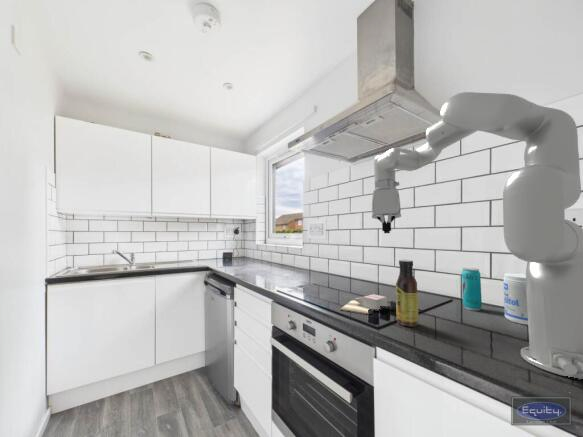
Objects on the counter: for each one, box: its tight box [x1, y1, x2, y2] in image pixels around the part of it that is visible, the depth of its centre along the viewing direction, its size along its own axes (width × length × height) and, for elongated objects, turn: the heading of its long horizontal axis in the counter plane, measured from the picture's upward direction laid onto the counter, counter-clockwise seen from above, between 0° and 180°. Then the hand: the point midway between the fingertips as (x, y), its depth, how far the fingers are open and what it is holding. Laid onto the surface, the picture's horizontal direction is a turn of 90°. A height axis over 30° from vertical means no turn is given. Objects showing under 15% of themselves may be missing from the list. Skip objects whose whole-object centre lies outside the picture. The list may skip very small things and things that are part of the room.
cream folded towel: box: [339, 299, 369, 315], centre depth 96 cm, size 14×11×1 cm
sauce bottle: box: [395, 259, 419, 328], centre depth 79 cm, size 7×6×20 cm
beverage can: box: [461, 267, 483, 312], centre depth 95 cm, size 6×6×15 cm
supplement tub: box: [503, 272, 528, 326], centre depth 81 cm, size 10×10×15 cm
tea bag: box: [354, 293, 388, 311], centre depth 97 cm, size 4×7×10 cm
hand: (386, 233), depth 97 cm, fingers closed
